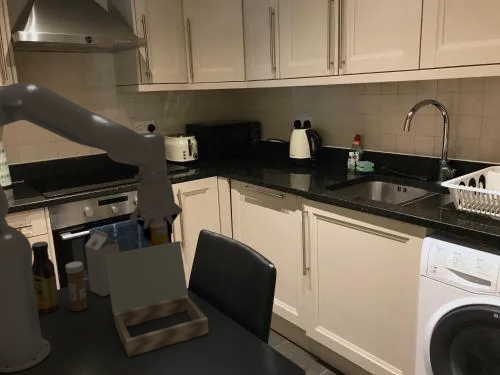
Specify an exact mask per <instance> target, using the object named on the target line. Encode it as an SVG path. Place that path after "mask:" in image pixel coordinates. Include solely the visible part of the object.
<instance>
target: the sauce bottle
mask: <svg viewBox="0 0 500 375" xmlns="http://www.w3.org/2000/svg"><path fill="white" fill-rule="evenodd" d="M31 248H32V275H33V283H34V290H35V296H36V302H37V309H38V314H39V313H41V314H46V313H51V312H53V311H55V310H58V308H59V293H58V292H59V291H58V284H57V276H56V272H55V271H56V270H55V264H54V262H53V261H52V260H51V259H50V258H49V257H50V255H49V250H48V249H49V244H48V242H47V241H36V242H34V243H32V244H31Z"/></svg>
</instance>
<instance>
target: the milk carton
mask: <svg viewBox="0 0 500 375" xmlns="http://www.w3.org/2000/svg"><path fill="white" fill-rule="evenodd" d="M108 235H109V234H108V233H107V232H103V231H100V230H98V229H93V234H91V237H90V238H89V239H88V241H87V242H86V243H85V244H84V245H85V246H84V249H85V256H86V257H85V258H86V264H87V272H88V282H89V290H90V291H91V292H92V293H94V294H97V295H99V296H100V297H105V296H108V295H110V290H109V283H108V276H107V269H106V263H105V256H104V255H108V254H114V253H119V252H120V246H119V243H118V242H117V241H116V240H114V239H112V238H110V237H109V236H108Z"/></svg>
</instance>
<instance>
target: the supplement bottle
mask: <svg viewBox="0 0 500 375" xmlns="http://www.w3.org/2000/svg"><path fill="white" fill-rule="evenodd" d="M148 227H149V228H150V236H151V241H150V242H149V247H151V246H156V245H161V244H166V243H169V237H168V229H167V220H166V219H165V217H160V218H154V219H150V220H149V224H148Z"/></svg>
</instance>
